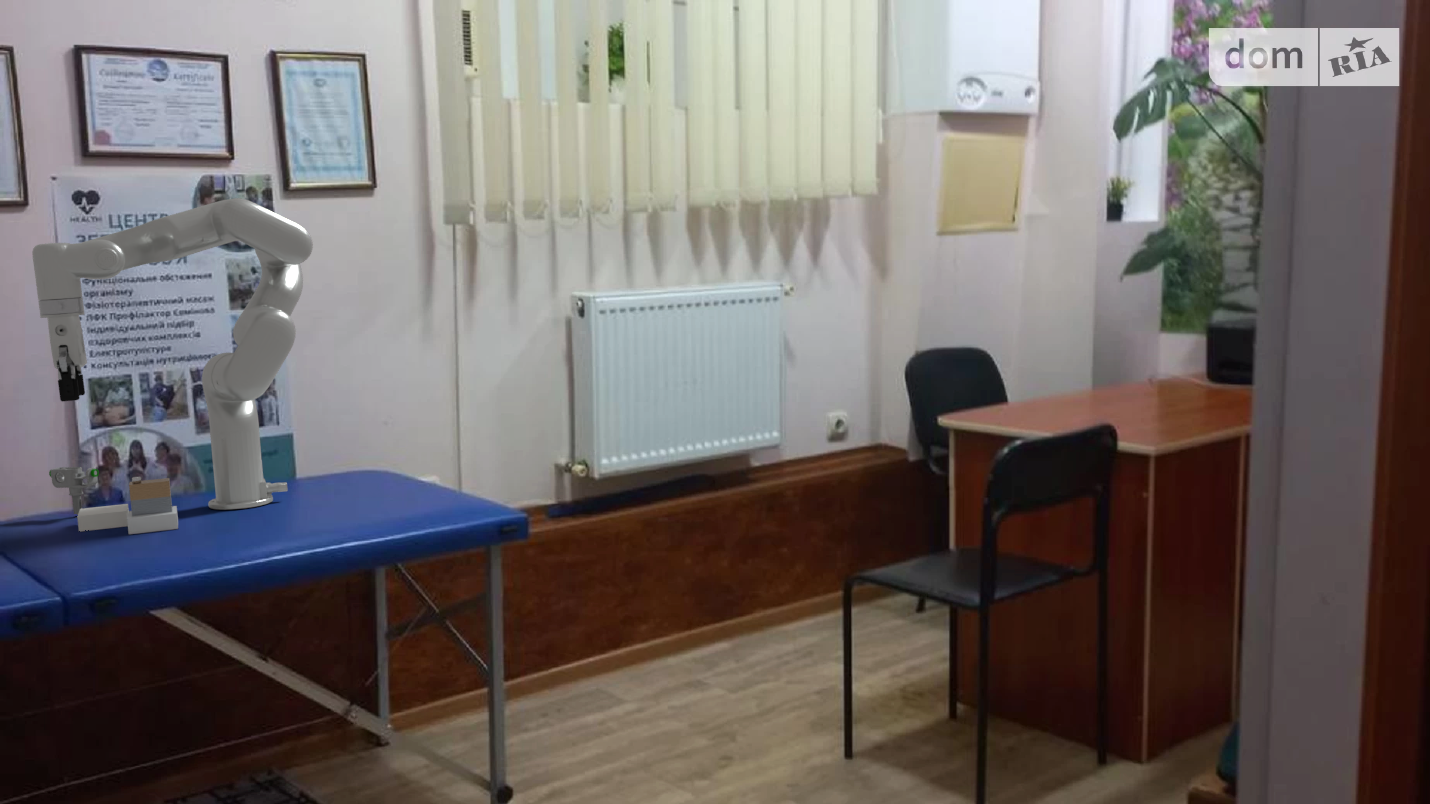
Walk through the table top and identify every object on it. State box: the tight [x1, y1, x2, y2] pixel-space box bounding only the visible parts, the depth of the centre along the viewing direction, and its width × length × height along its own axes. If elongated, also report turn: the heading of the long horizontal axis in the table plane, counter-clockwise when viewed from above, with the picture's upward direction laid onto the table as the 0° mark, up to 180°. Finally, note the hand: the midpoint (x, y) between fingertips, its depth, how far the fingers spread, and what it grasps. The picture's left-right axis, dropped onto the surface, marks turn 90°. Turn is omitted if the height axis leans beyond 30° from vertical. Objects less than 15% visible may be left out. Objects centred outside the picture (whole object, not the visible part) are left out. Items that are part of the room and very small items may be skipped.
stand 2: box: [127, 505, 179, 535], centre depth 247 cm, size 9×9×3 cm
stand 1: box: [76, 503, 130, 532], centre depth 251 cm, size 9×9×3 cm
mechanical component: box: [48, 466, 100, 515], centre depth 261 cm, size 3×10×10 cm, turn 79°
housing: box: [128, 476, 173, 516], centre depth 246 cm, size 7×4×7 cm, turn 113°
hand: (73, 398), depth 245 cm, fingers open, 9 cm apart
